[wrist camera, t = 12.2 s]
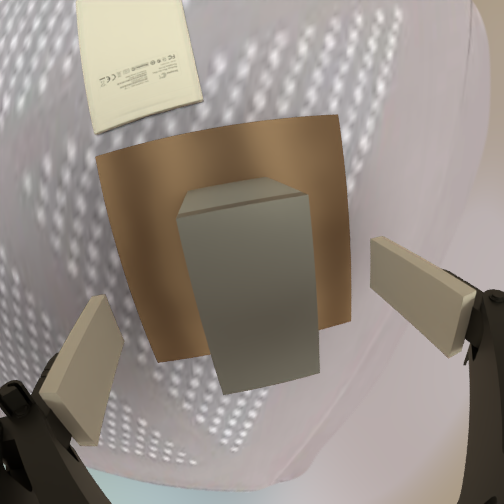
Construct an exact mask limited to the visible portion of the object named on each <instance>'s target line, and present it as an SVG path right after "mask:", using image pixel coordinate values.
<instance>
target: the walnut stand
mask: <svg viewBox="0 0 504 504" xmlns="http://www.w3.org/2000/svg"><path fill="white" fill-rule="evenodd" d="M95 158H96V163H97V168H98V173H99V178H100V183H101V188H102V192H103V197H104V201H105V205H106V209H107V213H108V217H109V221H110V225H111V229H112V233H113V236H114V240H115V243H116V247H117V250H118V254H119V257H120V260H121V264H122V267H123V270H124V273H125V276H126V279H127V283H128V286H129V289H130V292H131V294H132V297H133V300H134V303H135V306H136V309H137V311H138V314H139V317H140V320H141V322H142V325H143V327H144V330H145V333H146V335H147V338H148V340H149V343H150V345H151V348H152V350H153V352H154V355H155V357H156V360H157V362H158V363H160V362H167V361H174V360H180V359H187V358H193V357H199V356H204V355H210V350H209V347H208V343H207V340H206V336H205V333H204V329H203V326H202V322H201V319H200V315H199V311H198V308H197V304H196V300H195V296H194V293H193V289H192V285H191V281H190V277H189V273H188V269H187V265H186V261H185V257H184V252H183V248H182V244H181V239H180V235H179V231H178V226H177V221H176V217H177V215H178V212H179V210H180V208H181V205H182V203H183V201H184V198H185V196H186V194H187V191H190V190H195V189H200V188H205V187H210V186H215V185H221V184H226V183H232V182H238V181H243V180H249V179H255V178H262V177H268V178H270V179H273V180H275V181H278V182H280V183H282V184H285V185H287V186H289V187H292V188H294V189H296V190H299V191H301V192H303V193H305V194H308V196H309V206H310V216H311V226H312V237H313V249H314V262H315V276H316V291H317V309H318V330H321V329H325V328H329V327H332V326H336V325H339V324H343V323H346V322H350V321H351V252H350V229H349V212H348V199H347V186H346V176H345V166H344V156H343V148H342V140H341V132H340V125H339V118H338V115H320V116H305V117H294V118H283V119H274V120H265V121H257V122H250V123H243V124H236V125H229V126H223V127H217V128H212V129H206V130H201V131H195V132H190V133H185V134H181V135H176V136H171V137H167V138H163V139H158V140H154V141H150V142H146V143H142V144H138V145H134V146H131V147H127V148H123V149H120V150H116V151H113V152H109V153H106V154H103V155H99V156H96V157H95Z"/></svg>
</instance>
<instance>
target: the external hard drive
mask: <svg viewBox="0 0 504 504" xmlns="http://www.w3.org/2000/svg"><path fill="white" fill-rule="evenodd" d="M76 13H77V25H78V36H79V46H80V54H81V62H82V69H83V76H84V82H85V89H86V94H87V100H88V105H89V111H90V115H91V120H92V125H93V130H94V134H96V135H98V134H101V133H103V132H106V131H109V130H111V129H114V128H117V127H119V126H122V125H125V124H128V123H131V122H134V121H137V120H139V119H141V118H144V117H147V116H150V115H153V114H157V113H162V112H166V111H169V110H173V109H176V108H180V107H184V106H188V105H191V104H195V103H200V102H203V96H202V92H201V87H200V83H199V78H198V74H197V70H196V65H195V61H194V56H193V52H192V47H191V42H190V38H189V33H188V29H187V25H186V20H185V15H184V11H183V6H182V1H181V0H78V1H76Z"/></svg>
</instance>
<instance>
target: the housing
mask: <svg viewBox="0 0 504 504" xmlns="http://www.w3.org/2000/svg"><path fill="white" fill-rule="evenodd" d="M176 221H177V226H178V231H179V235H180V239H181V244H182V248H183V252H184V257H185V261H186V265H187V269H188V273H189V277H190V281H191V285H192V289H193V293H194V296H195V300H196V304H197V308H198V311H199V315H200V319H201V322H202V326H203V329H204V333H205V336H206V340H207V343H208V347H209V350H210V354H211V357H212V360H213V363H214V367H215V370H216V373H217V376H218V380H219V383H220V386H221V389H222V392H223V395H226V394H232V393H237V392H243V391H248V390H252V389H257V388H262V387H266V386H271V385H275V384H279V383H284V382H288V381H292V380H296V379H299V378H303V377H307V376H311V375H314V374H318V373H320V363H319V331H318V309H317V291H316V276H315V262H314V249H313V237H312V226H311V216H310V206H309V196H308V194H305V193H303V192H301V191H299V190H296V189H294V188H292V187H289V186H287V185H285V184H282V183H280V182H278V181H275V180H273V179H270V178H268V177H262V178H255V179H249V180H243V181H238V182H232V183H226V184H221V185H215V186H210V187H205V188H200V189H195V190H190V191H187V194H186V196H185V198H184V201H183V203H182V205H181V208H180V210H179V212H178V215H177V217H176Z"/></svg>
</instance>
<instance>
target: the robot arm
mask: <svg viewBox="0 0 504 504" xmlns="http://www.w3.org/2000/svg"><path fill="white" fill-rule="evenodd" d="M370 246H371V268H370V288H372V289H373V290H374V291H375V292H376V293H377V294H378V295H380V296H381V297H382V298H383V299H384V300H385V301H386V302H388V303H389V304H390V305H391V306H392V307H393V308H394V309H395V310H397V311H398V312H399V313H400V314H401V315H402V316H403V317H404V318H405V319H407V320H408V321H409V322H410V323H411V324H412V325H413V326H414V327H415V328H416V329H418V330H419V331H420V332H421V333H422V334H423V335H424V336H425V337H426V338H427V339H428V340H429V341H431V342H432V343H433V344H434V345H435V346H436V347H437V348H438V349H439V350H440V351H441V352H442V353H443V354H444V355H445V356H446V357H447V358H450V357H452V356H454V355H455V354H457V353H459V352H461V350H462V347H463V344H464V340H465V339H466V340H467V341H469V342H470V345H469V349H468V352H467V355H466V358H465V361H464V365H466V363H467V361H468V360H469V376H470V415H469V433H468V446H467V456H466V464H465V471H464V478H463V485H462V490H461V494H460V498H459V501H458V503H457V504H504V292H502V291H500V290H495V289H493V290H487V291H485V292H482V291H481V290H479V289H478V288H476V287H474V286H473V285H471V284H470V283H468V282H466V281H463V279H461V278H460V277H457V276H456V275H454V274H453V273H451V272H450V271H447V270H444V269H441V268H439V267H437V266H435V265H434V264H432V263H430V262H428V261H427V260H425V259H423V258H422V257H420V256H418V255H416V254H414V253H413V252H411V251H409V250H407V249H406V248H404V247H402V246H400V245H398V244H396V243H395V242H393V241H391V240H389V239H387V238H385V237H383V236H381V237H376V238H372V239H370ZM123 345H124V339H123V337H122V335H121V332H120V330H119V327H118V325H117V323H116V320H115V318H114V315H113V313H112V310H111V308H110V305H109V303H108V300H107V297H106V295H105V294H103V295H98V296H93V297H91V299H90V300H89V302H88V304H87V305H86V307H85V308H84V310H83V312H82V313H81V315H80V317H79V318H78V320H77V322H76V324H75V325H74V327H73V329H72V330H71V332H70V334H69V336H68V337H67V339H66V341H65V343H64V345H63V346H62V348H61V350H60V352H59V353H56V354H55V355H54V356H53V357H52V358H51V359H50V360H49V361H48V363H47V365H46V367H45V369H44V370H45V371H43V373H42V375H41V378H39V380H38V382H37V384H36V386H35V388H34V390H33V392H32V394H31V395H30V393H29V392H28V391H27V389H26V388H25V386H24V385H23V383H22V382H21V381H19V380H12V381H10V382H7V383H6V384H4V385H3V386H2V387H1V388H0V408H1V409H2V410H3V412H4V413H5V414H6V417H2V418H0V504H111V502H110V501H109V499H108V498H107V497H106V496H105V494H104V493H103V491H102V490H101V489H100V487H99V486H98V485H97V483H96V482H95V480H94V479H93V478H92V476H91V475H90V473H89V472H88V470H87V469H86V467H85V466H84V464H83V462H82V461H81V459H80V458H79V456H78V454H77V453H76V451H75V449H74V448H73V447H72V446H71V445H70V441H71V437H73V438H74V439H75V440H76V442H77V443H78V444H79V445H80V446H98V441H99V436H100V432H101V427H102V423H103V418H104V414H105V410H106V406H107V402H108V398H109V394H110V390H111V386H112V383H113V379H114V375H115V372H116V368H117V365H118V361H119V358H120V354H121V351H122V348H123ZM3 463H4V464H5V465H6V470H5V468H4V466H3Z"/></svg>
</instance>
